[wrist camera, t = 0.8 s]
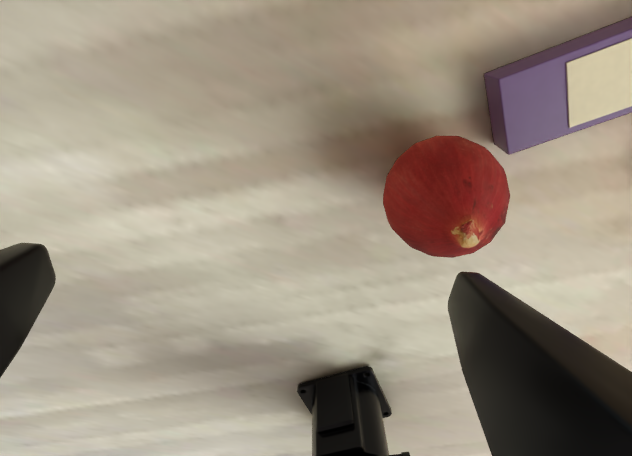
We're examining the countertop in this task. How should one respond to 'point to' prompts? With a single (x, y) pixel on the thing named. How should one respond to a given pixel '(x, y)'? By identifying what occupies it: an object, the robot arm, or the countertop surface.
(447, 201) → the onion
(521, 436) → the robot arm
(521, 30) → the countertop surface
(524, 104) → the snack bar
